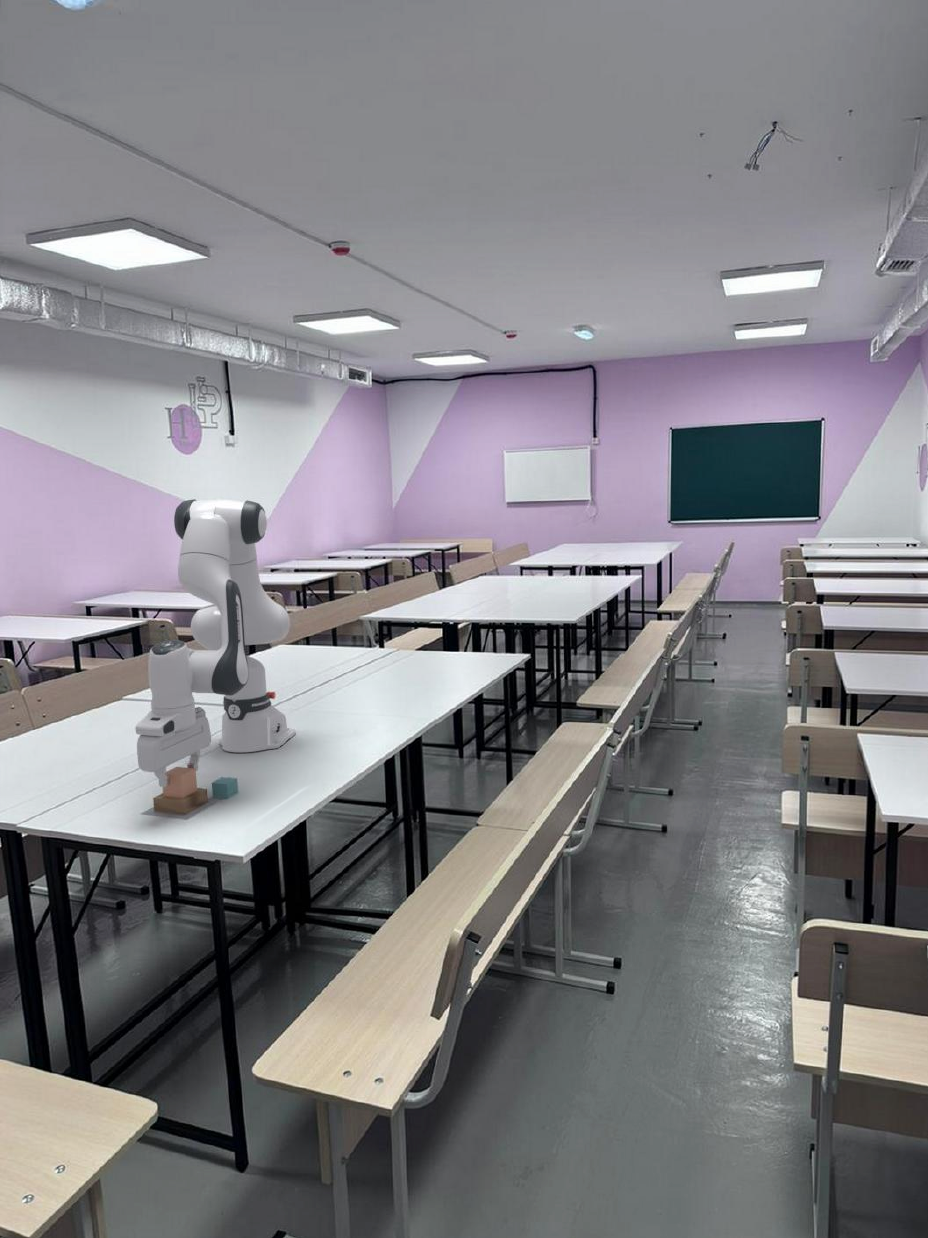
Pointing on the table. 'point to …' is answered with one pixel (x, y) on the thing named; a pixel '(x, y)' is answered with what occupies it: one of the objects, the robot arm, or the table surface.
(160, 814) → the mat
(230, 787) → the teal cube
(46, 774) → the table surface
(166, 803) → the base brick
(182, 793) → the terracotta cube
